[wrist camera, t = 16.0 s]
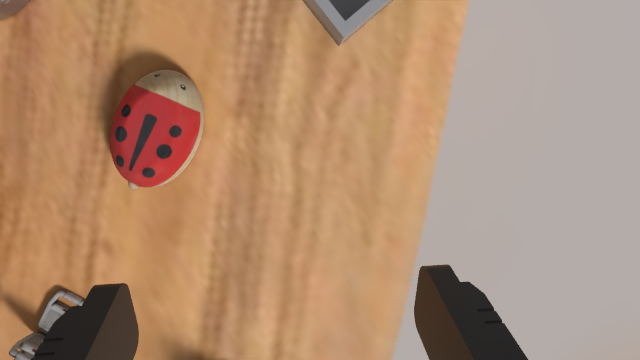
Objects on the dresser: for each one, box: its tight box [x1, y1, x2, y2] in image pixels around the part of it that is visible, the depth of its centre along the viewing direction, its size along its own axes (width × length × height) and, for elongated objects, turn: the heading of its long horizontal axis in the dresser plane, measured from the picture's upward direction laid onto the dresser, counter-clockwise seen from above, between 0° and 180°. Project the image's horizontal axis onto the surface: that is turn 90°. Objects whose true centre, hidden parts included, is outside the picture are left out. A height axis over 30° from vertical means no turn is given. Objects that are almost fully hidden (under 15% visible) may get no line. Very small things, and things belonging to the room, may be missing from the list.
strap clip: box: [9, 289, 85, 360], centre depth 34 cm, size 8×3×4 cm, turn 148°
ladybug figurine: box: [110, 70, 204, 189], centre depth 33 cm, size 7×10×4 cm
